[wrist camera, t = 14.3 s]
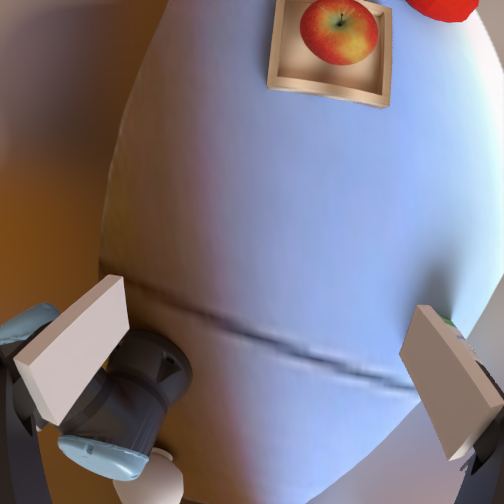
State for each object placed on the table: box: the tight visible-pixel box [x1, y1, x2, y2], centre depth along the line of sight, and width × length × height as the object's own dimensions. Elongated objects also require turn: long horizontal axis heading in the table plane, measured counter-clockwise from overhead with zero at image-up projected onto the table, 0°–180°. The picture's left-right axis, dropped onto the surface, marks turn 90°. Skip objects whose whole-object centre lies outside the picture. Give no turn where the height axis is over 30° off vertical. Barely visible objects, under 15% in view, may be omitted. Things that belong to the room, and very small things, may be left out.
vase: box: [113, 448, 183, 504], centre depth 46 cm, size 17×16×28 cm
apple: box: [300, 0, 378, 66], centre depth 23 cm, size 8×8×10 cm
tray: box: [267, 0, 392, 109], centre depth 27 cm, size 14×14×3 cm
